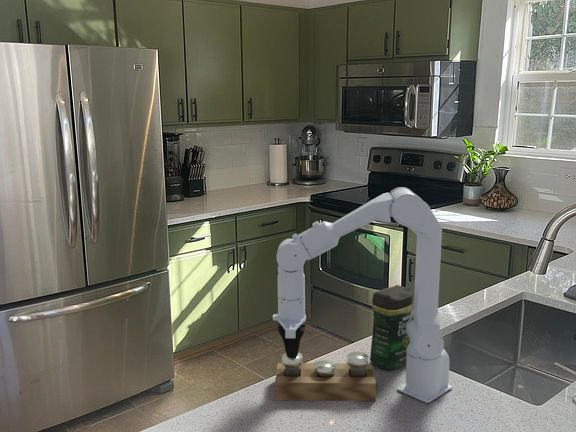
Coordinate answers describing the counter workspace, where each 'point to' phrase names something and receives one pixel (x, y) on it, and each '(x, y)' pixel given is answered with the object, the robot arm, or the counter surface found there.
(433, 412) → the counter surface
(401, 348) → the coffee jar
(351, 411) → the counter surface
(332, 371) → the middle knob
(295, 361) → the knob
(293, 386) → the block
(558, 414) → the counter surface
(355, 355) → the knob
